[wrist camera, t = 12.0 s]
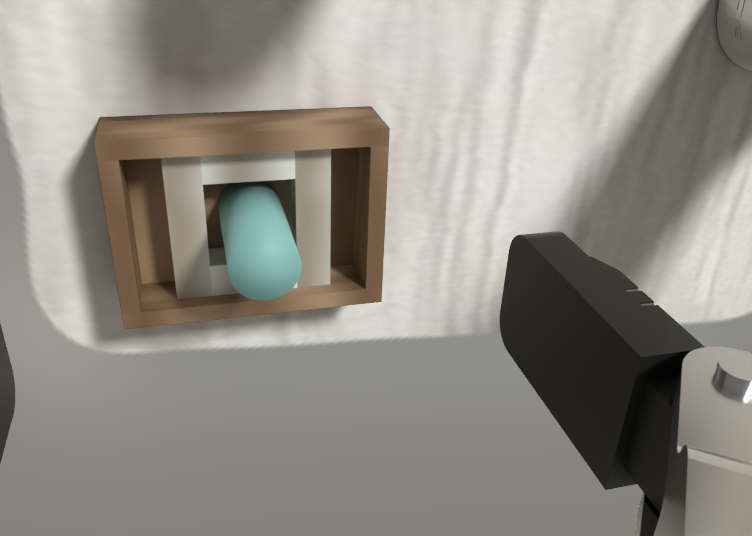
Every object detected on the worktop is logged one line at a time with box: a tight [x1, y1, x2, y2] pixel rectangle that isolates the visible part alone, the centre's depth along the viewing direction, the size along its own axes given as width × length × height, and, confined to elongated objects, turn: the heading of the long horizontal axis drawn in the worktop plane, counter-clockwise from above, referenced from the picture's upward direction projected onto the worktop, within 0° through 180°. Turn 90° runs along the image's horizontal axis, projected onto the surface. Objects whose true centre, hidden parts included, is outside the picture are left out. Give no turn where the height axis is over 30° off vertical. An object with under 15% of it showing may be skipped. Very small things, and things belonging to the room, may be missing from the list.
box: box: [94, 107, 390, 329], centre depth 41 cm, size 15×11×4 cm
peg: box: [218, 181, 302, 301], centre depth 38 cm, size 4×4×8 cm
